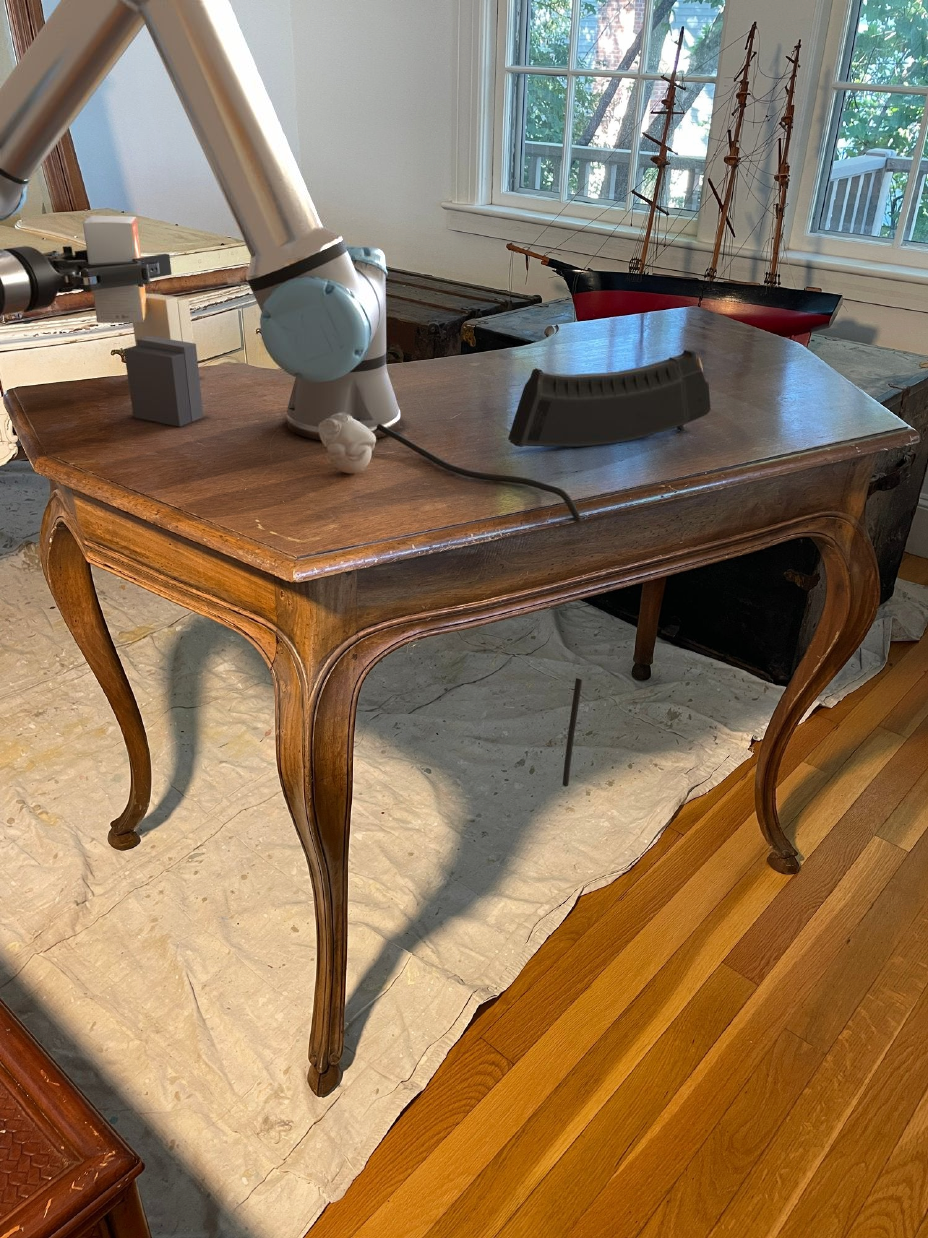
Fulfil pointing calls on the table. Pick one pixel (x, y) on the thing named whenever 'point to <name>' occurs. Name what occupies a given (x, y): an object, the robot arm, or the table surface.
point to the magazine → (610, 404)
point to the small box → (115, 244)
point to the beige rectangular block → (165, 319)
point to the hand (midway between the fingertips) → (140, 260)
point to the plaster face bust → (347, 442)
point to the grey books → (164, 381)
